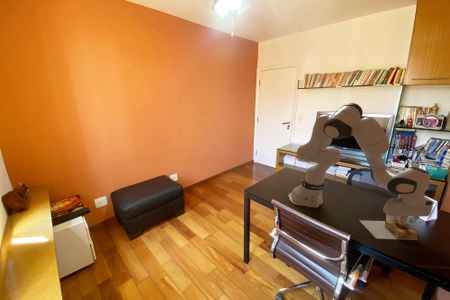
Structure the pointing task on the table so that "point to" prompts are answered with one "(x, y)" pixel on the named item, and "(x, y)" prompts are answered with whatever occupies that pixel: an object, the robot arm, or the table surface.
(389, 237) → the mat
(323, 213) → the table surface
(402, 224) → the wooden peg
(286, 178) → the table surface
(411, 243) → the table surface
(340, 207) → the table surface
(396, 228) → the square wooden tray
